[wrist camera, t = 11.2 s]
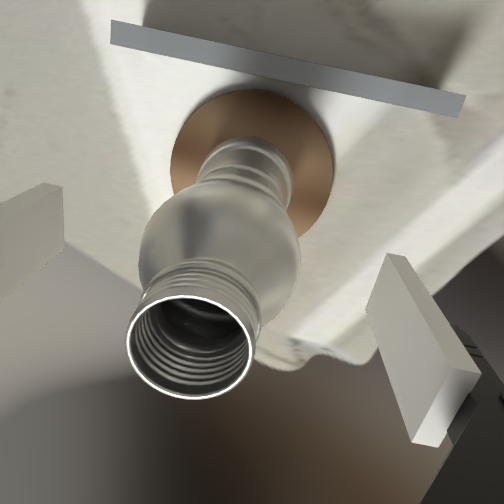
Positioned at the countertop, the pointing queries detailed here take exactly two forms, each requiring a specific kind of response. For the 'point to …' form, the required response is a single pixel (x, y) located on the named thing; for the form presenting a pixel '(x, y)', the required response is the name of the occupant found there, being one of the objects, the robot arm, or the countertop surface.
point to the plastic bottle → (215, 272)
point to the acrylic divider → (286, 69)
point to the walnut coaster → (269, 129)
